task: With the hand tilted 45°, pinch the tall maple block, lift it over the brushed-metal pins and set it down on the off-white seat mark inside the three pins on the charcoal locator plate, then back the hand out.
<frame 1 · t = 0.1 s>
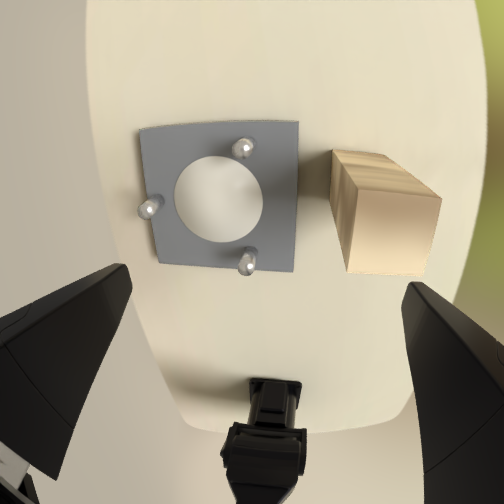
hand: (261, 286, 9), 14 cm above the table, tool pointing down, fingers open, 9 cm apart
maple block: (356, 177, 20), on the table
locator plate: (220, 196, 23), on the table
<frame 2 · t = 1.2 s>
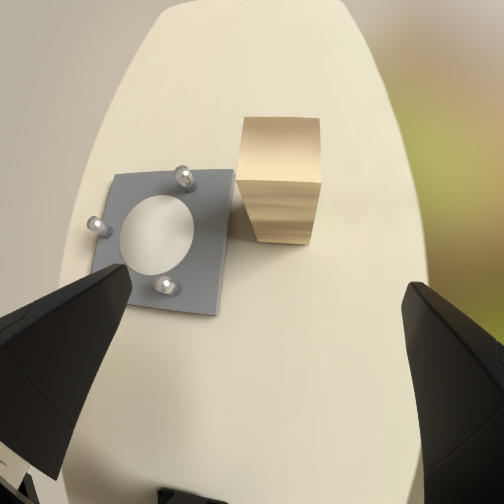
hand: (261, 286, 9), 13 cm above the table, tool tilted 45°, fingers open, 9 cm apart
maple block: (284, 219, 23), on the table
locator plate: (159, 237, 24), on the table
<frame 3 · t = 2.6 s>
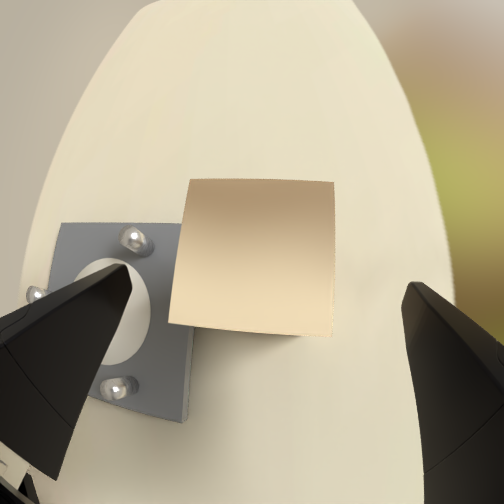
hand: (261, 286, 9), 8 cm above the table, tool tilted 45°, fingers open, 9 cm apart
maple block: (273, 298, 17), on the table
locator plate: (112, 312, 18), on the table
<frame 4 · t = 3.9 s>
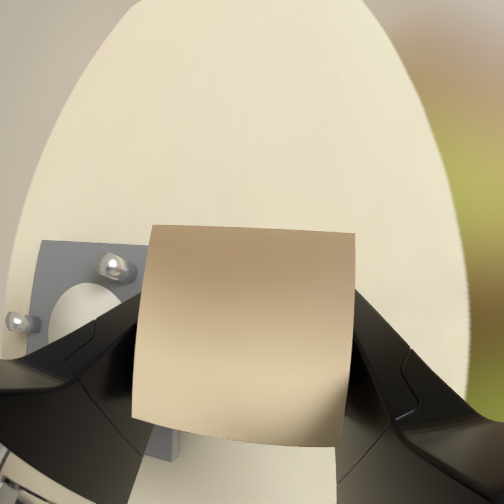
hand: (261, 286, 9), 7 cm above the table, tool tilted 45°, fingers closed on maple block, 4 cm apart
maple block: (270, 333, 15), on the table, touching gripper
locator plate: (95, 341, 15), on the table
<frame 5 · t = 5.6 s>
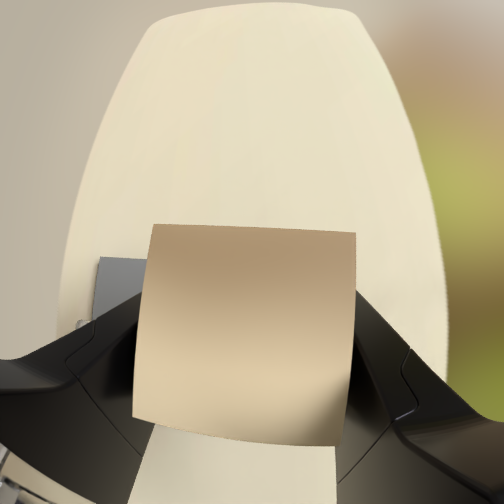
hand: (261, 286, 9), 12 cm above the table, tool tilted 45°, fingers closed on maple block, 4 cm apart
maple block: (270, 332, 15), point 6 cm above the table, touching gripper
locator plate: (158, 339, 21), on the table
when the fingers open (9 cm above the table, at t = 7.4 s): maple block drops 1 cm, resting on locator plate.
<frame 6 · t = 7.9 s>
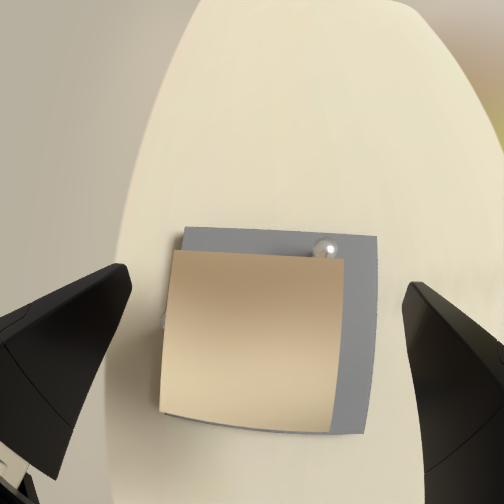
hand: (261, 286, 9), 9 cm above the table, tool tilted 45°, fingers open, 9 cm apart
maple block: (272, 332, 16), point 1 cm above the table, touching locator plate
locator plate: (273, 332, 17), on the table
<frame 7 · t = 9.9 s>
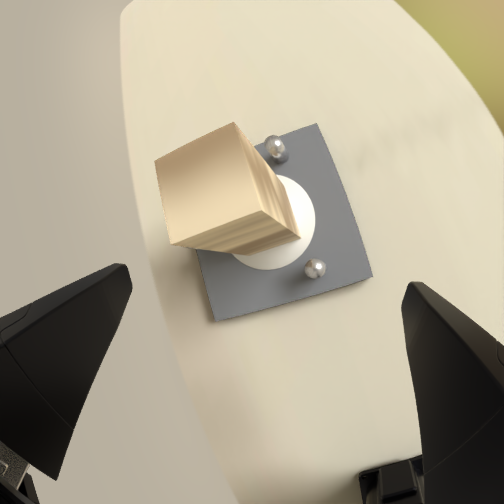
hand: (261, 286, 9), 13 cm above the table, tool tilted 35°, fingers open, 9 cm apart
maple block: (266, 220, 21), point 1 cm above the table, touching locator plate
locator plate: (270, 223, 22), on the table
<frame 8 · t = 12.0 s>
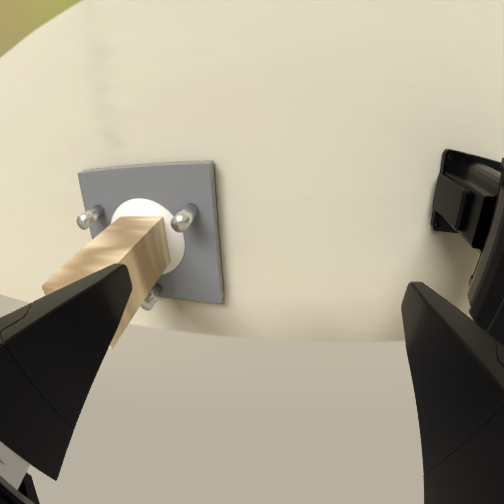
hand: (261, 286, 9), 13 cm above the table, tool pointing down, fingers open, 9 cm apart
maple block: (145, 238, 23), point 1 cm above the table, touching locator plate
locator plate: (151, 233, 24), on the table
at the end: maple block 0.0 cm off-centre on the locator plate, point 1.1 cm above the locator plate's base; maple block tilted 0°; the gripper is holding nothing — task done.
